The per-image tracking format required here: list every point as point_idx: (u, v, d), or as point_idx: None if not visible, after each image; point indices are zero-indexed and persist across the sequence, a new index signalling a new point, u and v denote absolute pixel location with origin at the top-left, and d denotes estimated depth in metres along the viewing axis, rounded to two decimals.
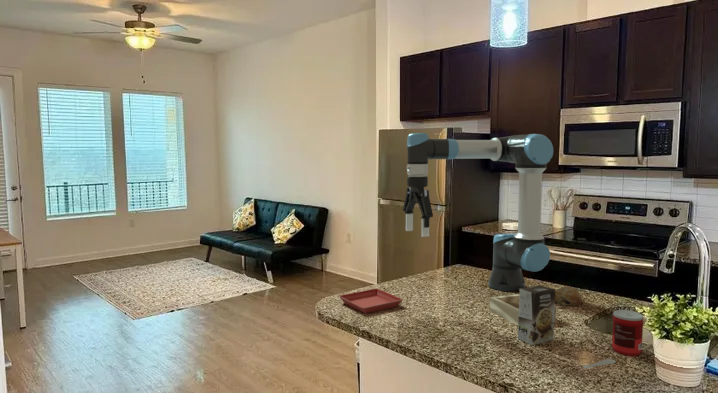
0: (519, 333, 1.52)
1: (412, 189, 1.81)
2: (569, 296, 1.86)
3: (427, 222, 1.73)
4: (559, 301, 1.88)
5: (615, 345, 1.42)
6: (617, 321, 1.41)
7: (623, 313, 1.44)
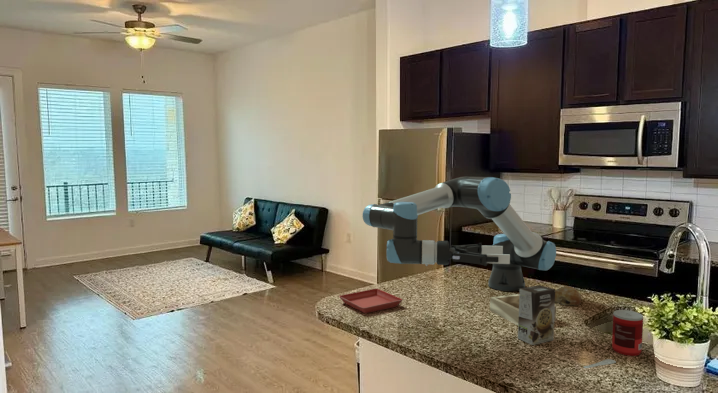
0: (519, 333, 1.52)
1: None
2: (569, 296, 1.86)
3: (492, 259, 1.44)
4: (559, 301, 1.88)
5: (615, 345, 1.42)
6: (617, 321, 1.41)
7: (623, 313, 1.44)
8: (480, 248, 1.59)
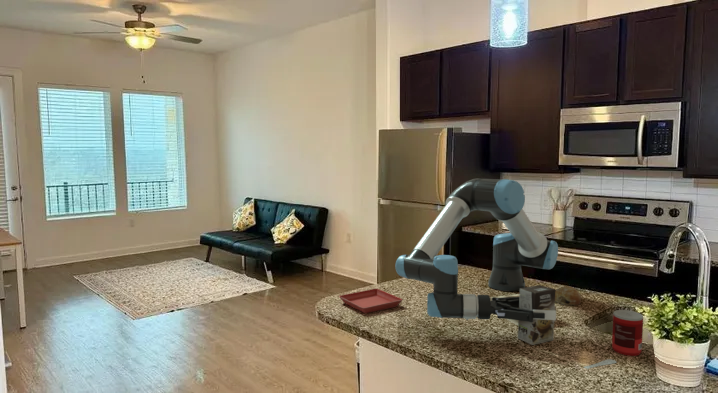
0: (519, 333, 1.52)
1: None
2: (569, 296, 1.86)
3: (538, 316, 1.45)
4: (559, 301, 1.88)
5: (615, 345, 1.42)
6: (617, 321, 1.41)
7: (623, 313, 1.44)
8: None
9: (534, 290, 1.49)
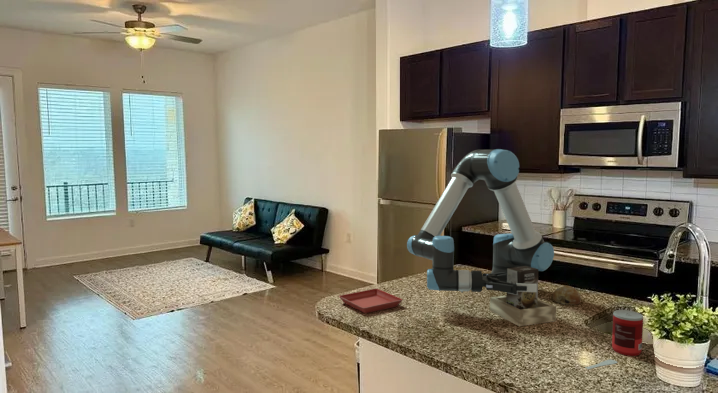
0: None
1: None
2: (569, 296, 1.87)
3: (521, 288, 1.65)
4: (558, 300, 1.89)
5: (615, 345, 1.42)
6: (617, 321, 1.41)
7: (623, 313, 1.44)
8: None
9: (519, 269, 1.70)
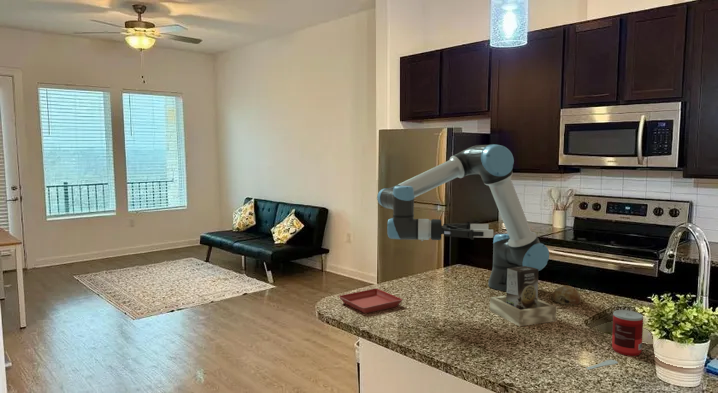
0: None
1: None
2: (569, 295, 1.87)
3: (478, 234, 1.67)
4: (558, 300, 1.89)
5: (615, 345, 1.42)
6: (617, 321, 1.41)
7: (623, 313, 1.44)
8: (469, 226, 1.83)
9: (519, 269, 1.70)
